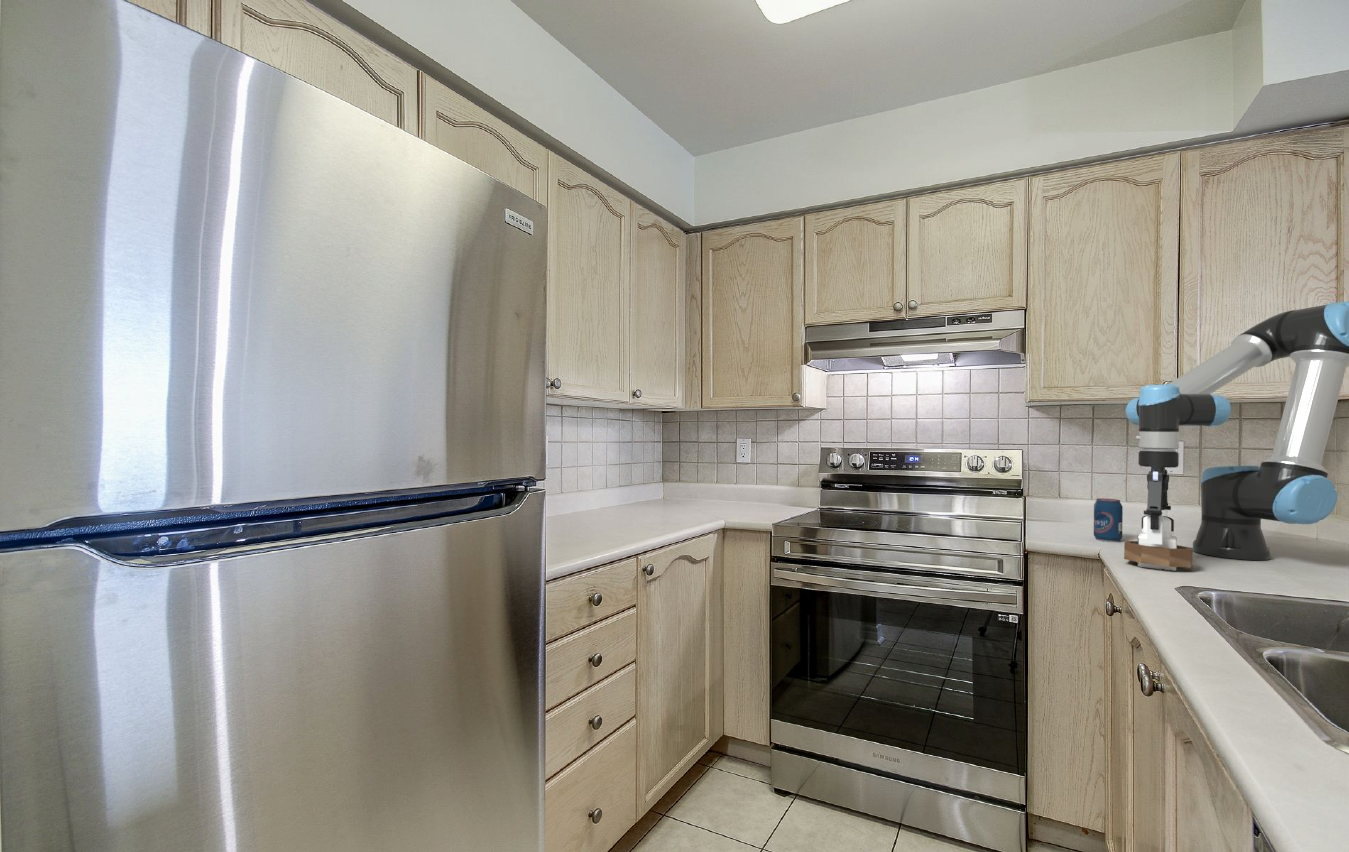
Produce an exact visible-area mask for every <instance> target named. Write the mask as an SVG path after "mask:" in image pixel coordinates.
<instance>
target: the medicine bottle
mask: <svg viewBox="0 0 1349 852" xmlns="http://www.w3.org/2000/svg"><path fill="white" fill-rule="evenodd" d="M1174 534H1175V520H1174V519H1173V518H1172V517H1170V516H1168V515H1167V516H1163V523H1162V545H1160V544H1150V543H1147V515H1143V516H1142V517H1141V532H1140V533H1139V535H1138V537H1137V541H1138V544H1139V545H1145V546H1153V547H1162V548H1175V549H1177V545H1178V537H1177V536H1176V535H1174ZM1137 567H1138V568H1146V569H1154V568H1157V569H1156V570H1162V569H1164V571H1170V570H1171V571H1172V572H1176V571H1177V567H1169V566H1161V565H1153V564H1146V563H1139V562H1137Z"/></svg>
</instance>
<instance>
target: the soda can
mask: <svg viewBox="0 0 1349 852" xmlns="http://www.w3.org/2000/svg"><path fill="white" fill-rule="evenodd" d="M1123 509H1124V508H1123V505H1122V503H1121V500H1120V499H1115V498H1104V497H1103V498H1099V497H1098V498H1096V500H1095V502H1094V504H1093V536H1094V538H1095V539H1096V540H1097V541H1100V542H1107V543H1120V541H1121V540H1122V539H1123V515H1124V514H1123Z"/></svg>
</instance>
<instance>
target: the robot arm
mask: <svg viewBox="0 0 1349 852" xmlns="http://www.w3.org/2000/svg"><path fill="white" fill-rule="evenodd" d="M1230 343H1231V344H1230V345H1229V346H1228V347H1226V348H1224V349H1223V350H1221V351H1219V352H1218V353H1216V354H1214V355H1213V356H1212V357H1210V358H1207V359H1206V360H1205V361H1203V362H1201V363H1200V364H1198V365H1197V366H1195V367H1194V368H1192V369H1190V370H1189V371H1187V372H1186V373H1184V374H1182V375H1180V376H1179V377H1178V378H1176V379H1175V380H1173V381H1172V382H1169V383H1168V384H1147V385H1144V386H1142V387H1141V388H1139V396H1138V397H1135V398H1133V399H1131V400H1130V401H1129V402H1128V403H1127V405H1126V408H1125V416H1126V417H1127V420H1128V421H1129V422H1130V423H1131V424H1133V425H1135V426H1138V434H1139V435H1136V436H1135V439H1136V441H1137V440H1138V448H1139V449H1142V450H1139V452H1138V463H1137V464H1138V465H1139V466H1140V467H1147V468H1150V471H1148V473H1147V474H1146V482H1147V486H1146V487H1147V503H1146V505H1147V506H1146V509H1144V510H1143V515H1144V516H1146V515H1147V543H1150V544H1160V545H1162V523H1163V516H1167V517H1168V511H1171V510H1172V506H1171V505H1169V503H1168V491H1169V482H1170V475H1169V474H1168V469H1166V468H1169V469H1170V468H1177V467H1179V465H1180V464H1179V458H1180V456H1179V455H1180V453H1178V451H1177V450H1179V448H1180V426H1181V427H1183V426H1185V427H1186V426H1188V427H1189V426H1190V427H1191V426H1193V427H1194V426H1195V427H1197V426H1198V427H1199V426H1200V427H1211V426H1216V427H1217V426H1221V425H1223V424H1224V423H1226V422H1227V421H1228V420H1229V419H1230V416H1231V413H1232V406H1231V403H1230V401H1229V400H1228V399H1227V398H1226V397H1224V396H1223V395H1220V394H1213V393H1214V392H1216V391H1217V390H1219V389H1222V388H1223V387H1224V386H1226V385H1228V384H1229V383H1231V382H1232V381H1234V380H1235V379H1237V378H1239V377H1241V376H1242V375H1243V374H1245V373H1247V372H1248V371H1249V370H1252V369H1253V368H1259V367H1261V368H1262V367H1264V366H1266V365H1268V364H1270V363H1271V362H1273V361H1277V360H1279V359H1286V358H1290V359H1291V360H1292V361H1293V362H1294V363H1295V367H1294V371H1293V374H1292V377H1291V381H1290V387H1289V390H1288V394H1287V398H1286V401H1285V405H1284V408H1283V413H1282V416H1281V419H1280V424H1279V427H1278V431H1277V435H1276V438H1275V443H1274V446H1273V450H1272V453H1271V456H1270V457H1268V458H1266V459H1264V460H1261V463H1260V466H1259V465H1232V466H1231V465H1228V466H1227V465H1225V466H1224V465H1223V466H1212V467H1211V466H1210V467H1208V468H1205V469H1204V470H1203V472H1202V473H1201V475H1202V476H1201V481H1200V485H1201V486H1200V487H1201V488H1200V490H1201V491H1200V495H1201V497H1200V498H1201V501H1200V502H1201V503H1200V505H1201V509H1200V510H1201V512H1200V513H1201V519H1200V521H1201V523H1200V525H1199V528H1198V531H1197V533H1196V537H1195V539H1194V540H1193V541H1192V548H1193V552H1194V553H1197V554H1200V555H1201V554H1202V555H1206V556H1211V557H1216V558H1217V557H1218V558H1224V559H1232V560H1233V559H1235V560H1245V561H1249V560H1250V561H1267V560H1270V559H1271V550H1270V548H1269V547H1268V546H1267V542H1266V538H1265V536H1264V533H1263V530H1262V526H1261V521H1262V520H1267V521H1274V522H1282V523H1285V524H1289V525H1293V524H1294V525H1296V524H1298V525H1312V524H1317V523H1319V522H1320V521H1323V520H1324V519H1326V518H1328V517H1329V515H1331V513H1333V510H1334V509H1335V507H1336V505H1337V501H1338V491H1337V490H1335V489H1336V486H1335V484H1334V483H1333V482H1332V481H1331V480H1330V479H1329V478H1328V475H1329V472H1328V471H1327V469H1326V468H1325V467H1324V466H1323V465H1322V463H1323V458H1324V454H1325V451H1326V448H1327V447H1326V446H1327V443H1328V439H1329V435H1330V430H1331V428H1332V425H1333V424H1332V423H1333V420H1334V416H1335V413H1336V408H1337V405H1338V400H1339V398H1340V393H1341V390H1342V386H1343V381H1344V378H1345V373H1346V369H1347V368H1349V301H1340V302H1330V303H1328V304H1322V305H1317V306H1312V307H1306V308H1299V309H1292V310H1288V311H1284V312H1281V313H1278V314H1276V315H1273V316H1271V317H1269V318H1267V319H1264V320H1263V321H1261V322H1259V323H1257V324H1254V325H1253V326H1252V327H1251V328H1249V329H1247V330H1245V331H1244V332H1242V333H1240V334H1238V335H1237V336H1236V337H1234V338H1233V339H1232V341H1231V342H1230Z"/></svg>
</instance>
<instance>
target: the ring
mask: <svg viewBox="0 0 1349 852" xmlns="http://www.w3.org/2000/svg"><path fill="white" fill-rule="evenodd" d="M1123 544H1124V546H1123V548H1124V550H1123V551H1124V552H1123V554H1124V555H1123V559H1124V560H1128V561H1131V562H1136V563H1138V562H1139V563H1146V564H1153V565H1161V566H1169V567H1176V568H1189V569H1190V568H1192V566H1193V552H1194V551H1193V547H1189V546H1184V545H1183V546H1182V545H1178V544H1177V549H1175V548H1162V547H1153V546H1145V545H1139V544H1138V540H1126V541H1125V542H1124V543H1123Z"/></svg>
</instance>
